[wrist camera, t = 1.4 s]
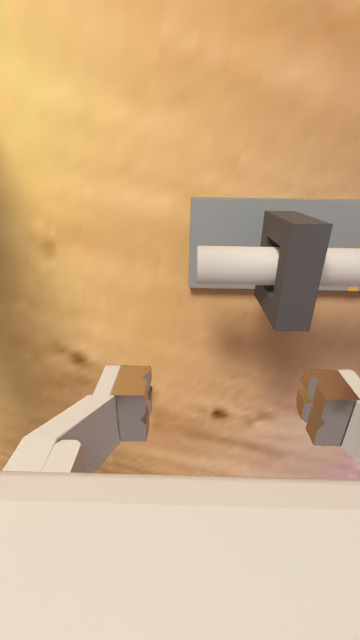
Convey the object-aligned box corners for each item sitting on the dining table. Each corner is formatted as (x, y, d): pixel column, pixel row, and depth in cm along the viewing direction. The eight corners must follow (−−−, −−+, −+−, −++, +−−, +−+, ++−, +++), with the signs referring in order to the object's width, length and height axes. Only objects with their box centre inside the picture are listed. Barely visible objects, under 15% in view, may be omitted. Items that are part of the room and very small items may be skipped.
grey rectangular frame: (254, 293, 29) (274, 330, 22) (264, 210, 26) (292, 223, 19) (280, 294, 29) (309, 331, 22) (294, 210, 26) (333, 224, 19)
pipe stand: (188, 285, 33) (189, 338, 22) (191, 197, 29) (193, 210, 18) (417, 289, 33) (531, 345, 22) (451, 201, 29) (609, 216, 18)
